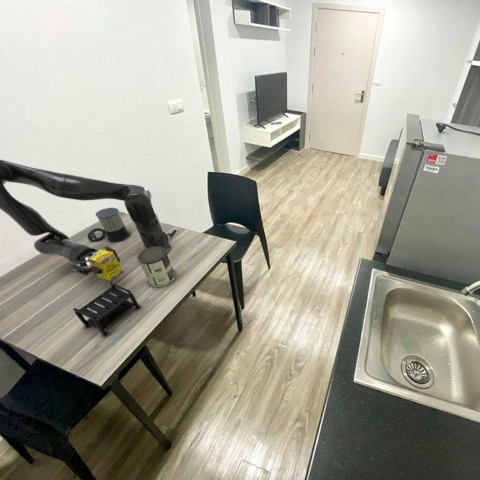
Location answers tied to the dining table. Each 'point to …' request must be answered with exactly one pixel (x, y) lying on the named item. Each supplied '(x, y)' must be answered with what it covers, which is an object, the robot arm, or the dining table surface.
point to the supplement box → (106, 265)
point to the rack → (107, 308)
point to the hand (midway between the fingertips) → (109, 265)
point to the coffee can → (156, 266)
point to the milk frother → (110, 226)
